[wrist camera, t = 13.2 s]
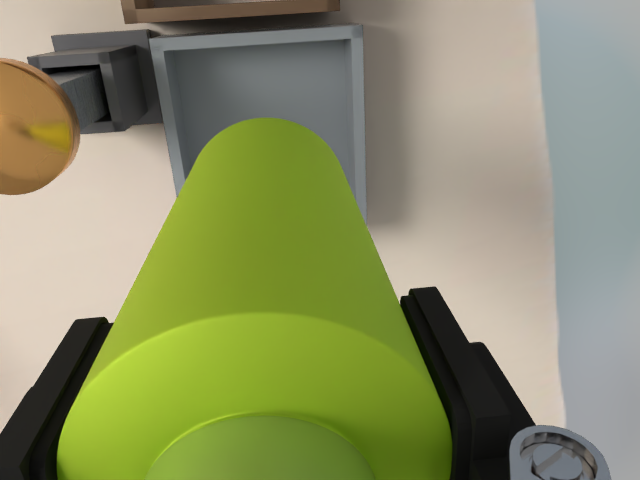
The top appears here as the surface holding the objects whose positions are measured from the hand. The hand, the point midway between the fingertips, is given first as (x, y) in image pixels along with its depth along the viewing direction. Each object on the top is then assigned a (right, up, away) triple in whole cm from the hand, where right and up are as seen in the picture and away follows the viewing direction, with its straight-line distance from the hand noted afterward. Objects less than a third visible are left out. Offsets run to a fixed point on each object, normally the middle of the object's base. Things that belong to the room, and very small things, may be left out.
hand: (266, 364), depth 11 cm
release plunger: (-11, +11, +18) cm, 23 cm away
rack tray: (-2, +9, +21) cm, 23 cm away
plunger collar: (-11, +12, +19) cm, 25 cm away
